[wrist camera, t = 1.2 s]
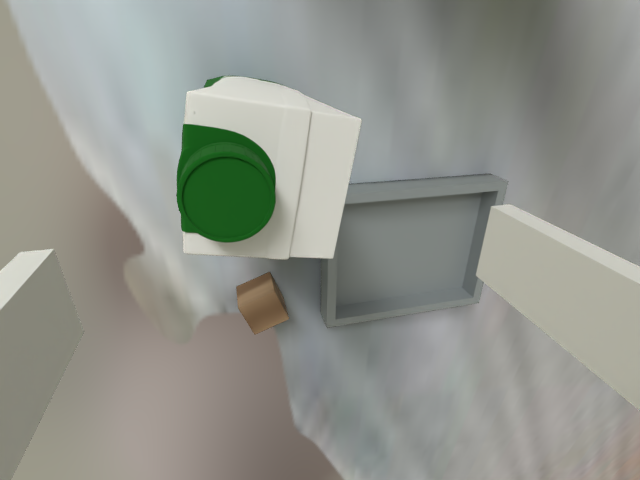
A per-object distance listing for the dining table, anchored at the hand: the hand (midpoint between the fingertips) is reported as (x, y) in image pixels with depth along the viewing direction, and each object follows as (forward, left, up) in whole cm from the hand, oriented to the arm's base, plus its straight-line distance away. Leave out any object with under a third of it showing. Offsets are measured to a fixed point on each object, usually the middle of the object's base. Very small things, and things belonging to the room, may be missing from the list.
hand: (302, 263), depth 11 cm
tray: (+14, +17, -25) cm, 33 cm away
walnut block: (+18, 0, -25) cm, 31 cm away
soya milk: (0, 0, -25) cm, 25 cm away
